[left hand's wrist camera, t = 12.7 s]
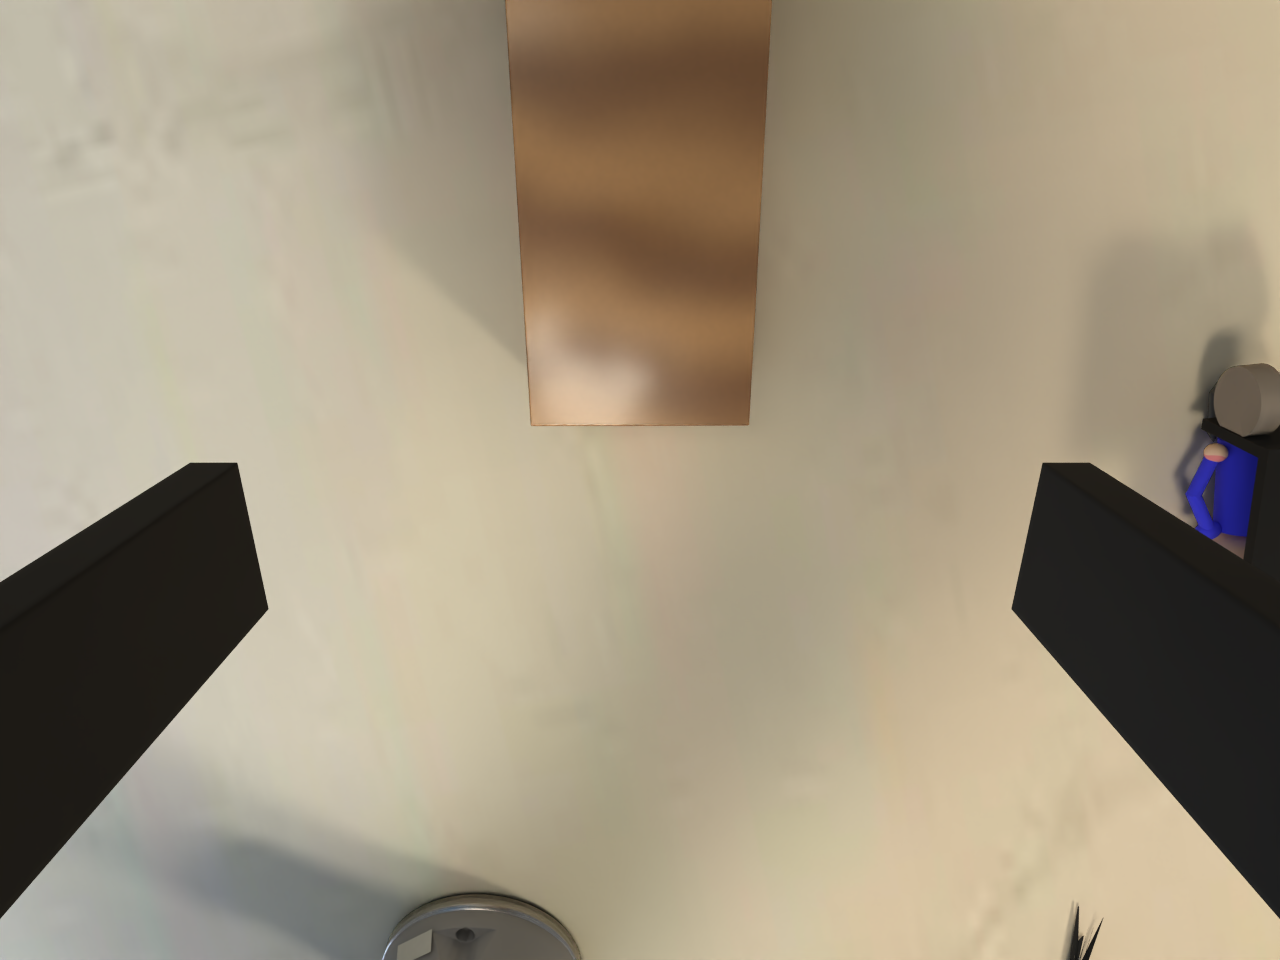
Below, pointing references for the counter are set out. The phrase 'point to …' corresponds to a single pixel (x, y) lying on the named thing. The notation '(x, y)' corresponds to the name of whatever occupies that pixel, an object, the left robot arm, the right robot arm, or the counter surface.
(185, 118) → the counter surface
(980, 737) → the counter surface
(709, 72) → the thick board
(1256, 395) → the figurine character
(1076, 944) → the feather
